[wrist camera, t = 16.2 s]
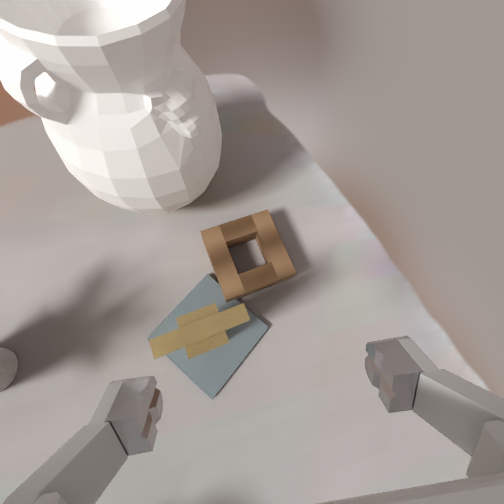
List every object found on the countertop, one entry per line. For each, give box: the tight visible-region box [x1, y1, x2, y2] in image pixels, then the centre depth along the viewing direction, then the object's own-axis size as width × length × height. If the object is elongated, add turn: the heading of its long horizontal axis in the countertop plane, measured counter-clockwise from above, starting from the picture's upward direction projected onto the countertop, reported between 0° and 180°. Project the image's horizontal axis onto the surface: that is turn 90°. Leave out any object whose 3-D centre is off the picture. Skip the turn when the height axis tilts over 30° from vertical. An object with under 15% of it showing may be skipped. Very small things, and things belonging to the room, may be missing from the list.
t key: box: [149, 303, 250, 359], centre depth 28 cm, size 4×8×14 cm, turn 112°
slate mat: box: [148, 274, 269, 399], centre depth 34 cm, size 11×11×1 cm
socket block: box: [201, 210, 296, 303], centre depth 37 cm, size 10×10×3 cm
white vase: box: [0, 0, 222, 213], centre depth 29 cm, size 19×18×25 cm
